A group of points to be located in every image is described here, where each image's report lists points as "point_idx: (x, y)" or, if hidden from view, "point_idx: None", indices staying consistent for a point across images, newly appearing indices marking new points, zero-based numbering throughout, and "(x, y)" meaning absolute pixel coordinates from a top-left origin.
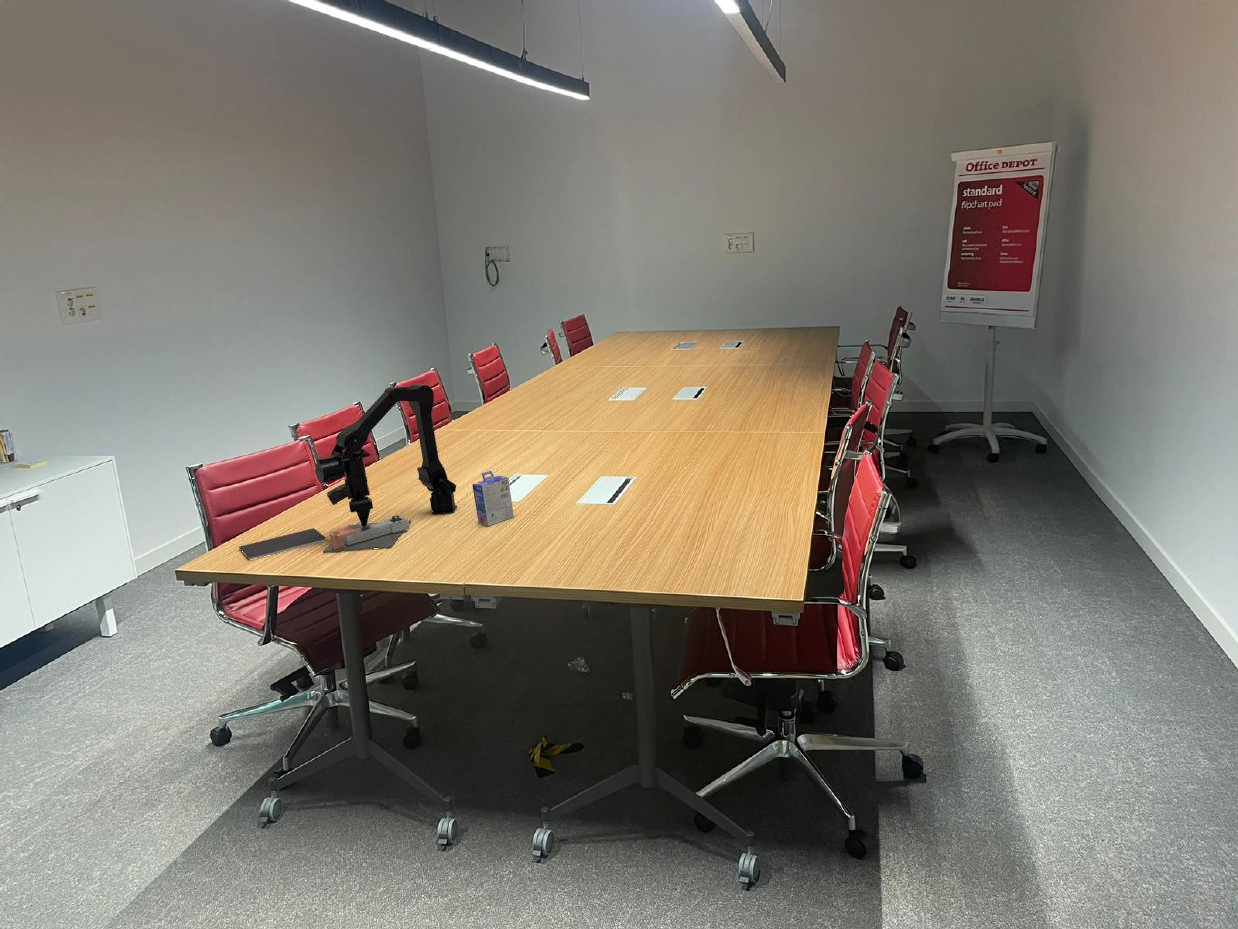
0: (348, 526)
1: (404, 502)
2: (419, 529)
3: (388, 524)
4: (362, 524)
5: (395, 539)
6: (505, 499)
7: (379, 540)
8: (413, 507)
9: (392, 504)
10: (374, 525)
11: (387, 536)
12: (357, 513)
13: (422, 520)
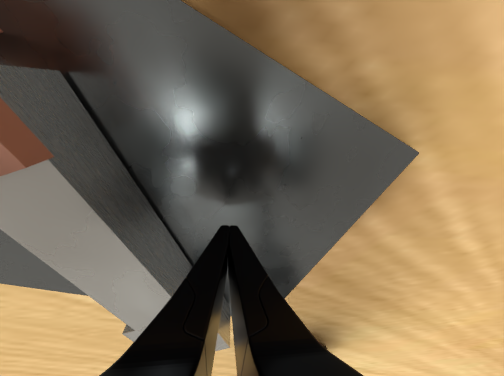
0: (16, 165)
1: (450, 303)
2: None
3: (130, 324)
4: (216, 237)
5: (64, 290)
6: None
7: None
8: (386, 315)
9: (472, 284)
10: (130, 288)
11: None
12: (148, 329)
13: None
